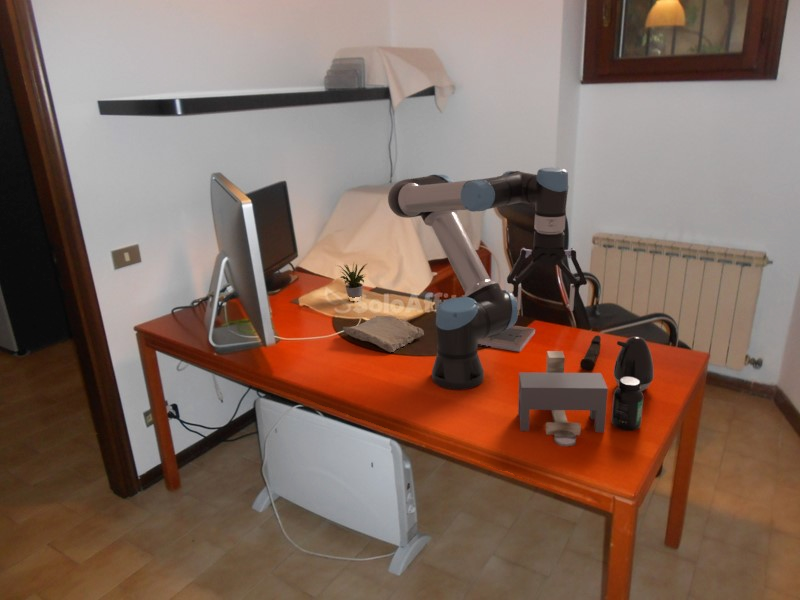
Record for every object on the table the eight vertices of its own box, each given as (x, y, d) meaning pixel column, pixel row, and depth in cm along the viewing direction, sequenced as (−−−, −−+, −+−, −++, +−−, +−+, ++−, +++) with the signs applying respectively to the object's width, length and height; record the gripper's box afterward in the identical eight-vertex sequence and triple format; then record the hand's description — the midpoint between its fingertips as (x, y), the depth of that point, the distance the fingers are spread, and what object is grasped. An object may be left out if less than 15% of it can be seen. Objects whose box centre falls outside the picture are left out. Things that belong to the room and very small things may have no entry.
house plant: (330, 306, 239) (326, 266, 233) (339, 294, 251) (336, 257, 246) (365, 306, 236) (362, 266, 231) (372, 294, 249) (370, 257, 244)
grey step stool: (520, 430, 148) (521, 387, 144) (518, 414, 155) (519, 372, 151) (604, 432, 145) (607, 388, 141) (597, 415, 153) (600, 373, 149)
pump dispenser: (605, 380, 170) (609, 331, 165) (641, 377, 170) (646, 328, 165) (621, 398, 160) (625, 346, 155) (658, 394, 161) (664, 343, 156)
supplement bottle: (645, 430, 145) (650, 386, 141) (618, 432, 145) (622, 388, 141) (632, 415, 152) (636, 373, 148) (606, 418, 151) (610, 375, 147)
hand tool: (593, 372, 175) (594, 358, 174) (579, 370, 177) (580, 355, 176) (606, 348, 191) (608, 334, 189) (593, 346, 193) (594, 332, 191)
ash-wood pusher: (546, 434, 146) (548, 385, 141) (537, 395, 164) (539, 350, 159) (580, 435, 145) (583, 385, 140) (567, 395, 163) (570, 350, 158)
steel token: (556, 447, 141) (556, 442, 140) (552, 436, 145) (552, 430, 145) (578, 447, 140) (578, 441, 140) (572, 435, 145) (573, 430, 145)
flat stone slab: (384, 360, 192) (427, 336, 204) (381, 339, 189) (424, 316, 201) (338, 343, 209) (380, 321, 221) (334, 323, 206) (376, 302, 218)
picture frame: (457, 343, 201) (519, 353, 191) (457, 336, 200) (520, 346, 190) (475, 325, 214) (534, 334, 204) (475, 319, 213) (535, 327, 203)
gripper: (499, 234, 150) (497, 312, 157) (603, 234, 146) (595, 314, 154) (499, 226, 157) (496, 302, 164) (597, 227, 153) (590, 304, 161)
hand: (544, 308), depth 159 cm, fingers open, 13 cm apart
